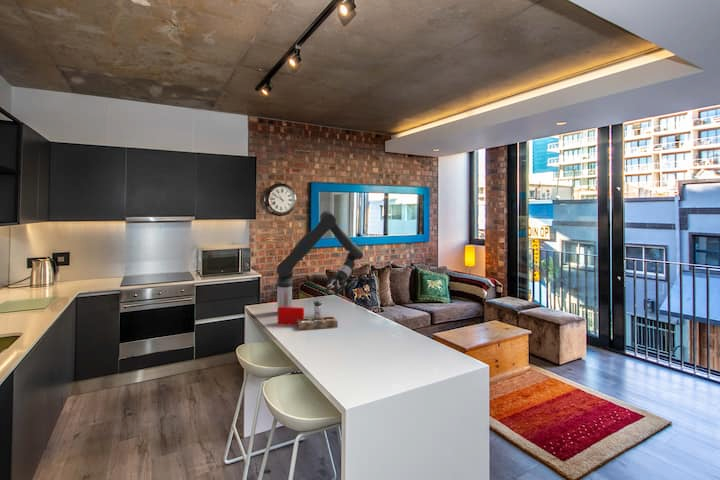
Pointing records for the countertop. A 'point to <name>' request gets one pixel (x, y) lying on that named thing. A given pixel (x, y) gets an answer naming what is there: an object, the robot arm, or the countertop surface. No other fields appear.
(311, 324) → the socket bar
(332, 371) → the countertop surface
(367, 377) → the countertop surface
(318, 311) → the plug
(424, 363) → the countertop surface
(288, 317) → the play button
